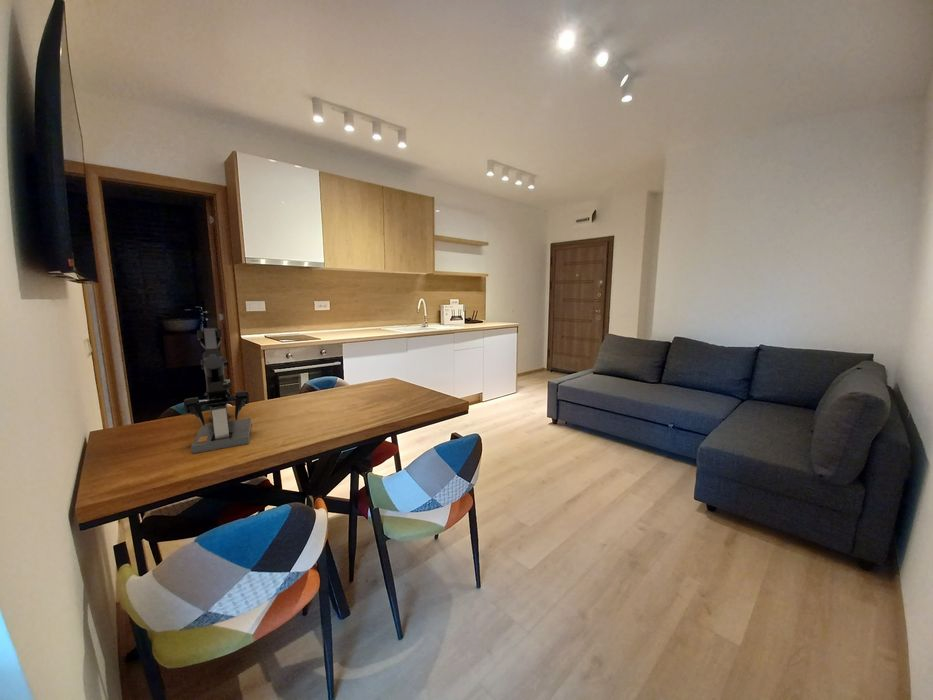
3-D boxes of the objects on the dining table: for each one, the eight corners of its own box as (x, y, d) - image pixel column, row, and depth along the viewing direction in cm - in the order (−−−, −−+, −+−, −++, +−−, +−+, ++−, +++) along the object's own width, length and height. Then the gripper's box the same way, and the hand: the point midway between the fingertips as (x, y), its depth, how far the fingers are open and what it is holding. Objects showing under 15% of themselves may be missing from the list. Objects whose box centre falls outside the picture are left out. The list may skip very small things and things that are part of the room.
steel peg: (215, 442, 126) (211, 407, 124) (229, 439, 129) (225, 405, 126) (216, 446, 123) (211, 410, 121) (230, 443, 125) (225, 408, 123)
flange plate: (202, 431, 137) (202, 424, 136) (251, 423, 144) (250, 417, 144) (192, 453, 118) (190, 445, 117) (248, 443, 125) (247, 436, 125)
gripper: (180, 376, 120) (183, 416, 113) (245, 369, 130) (251, 405, 123) (184, 393, 127) (187, 432, 120) (246, 385, 138) (251, 421, 131)
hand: (220, 422), depth 123 cm, fingers open, 9 cm apart
